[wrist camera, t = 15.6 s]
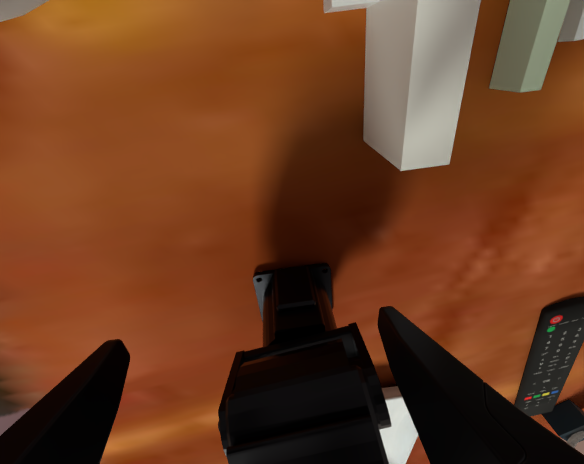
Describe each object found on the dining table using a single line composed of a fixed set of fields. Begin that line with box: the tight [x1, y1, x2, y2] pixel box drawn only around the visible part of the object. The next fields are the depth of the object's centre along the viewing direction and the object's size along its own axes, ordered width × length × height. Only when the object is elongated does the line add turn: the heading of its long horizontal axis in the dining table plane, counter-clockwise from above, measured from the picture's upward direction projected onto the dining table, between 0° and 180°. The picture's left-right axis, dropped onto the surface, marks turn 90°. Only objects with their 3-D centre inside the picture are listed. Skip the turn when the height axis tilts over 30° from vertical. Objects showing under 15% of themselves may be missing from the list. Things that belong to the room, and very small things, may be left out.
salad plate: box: [380, 386, 418, 464], centre depth 38 cm, size 21×21×3 cm
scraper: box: [324, 0, 481, 171], centre depth 13 cm, size 11×7×6 cm, turn 6°
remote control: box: [515, 297, 584, 416], centre depth 36 cm, size 5×24×1 cm, turn 16°
